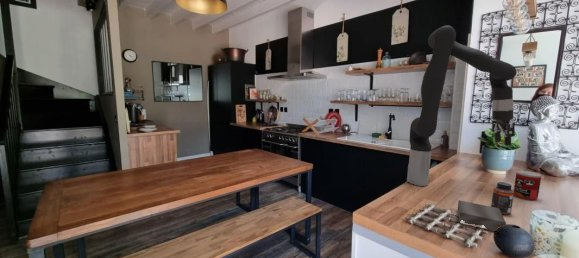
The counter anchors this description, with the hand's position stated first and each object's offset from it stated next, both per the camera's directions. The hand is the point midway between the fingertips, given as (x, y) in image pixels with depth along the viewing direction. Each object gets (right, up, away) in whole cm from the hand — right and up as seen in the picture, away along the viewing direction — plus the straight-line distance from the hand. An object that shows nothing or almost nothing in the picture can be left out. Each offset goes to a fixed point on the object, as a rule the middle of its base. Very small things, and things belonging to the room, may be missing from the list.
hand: (502, 143), depth 116 cm
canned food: (+4, -24, -7) cm, 25 cm away
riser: (-34, -26, -29) cm, 51 cm away
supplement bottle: (-19, -25, -21) cm, 38 cm away
